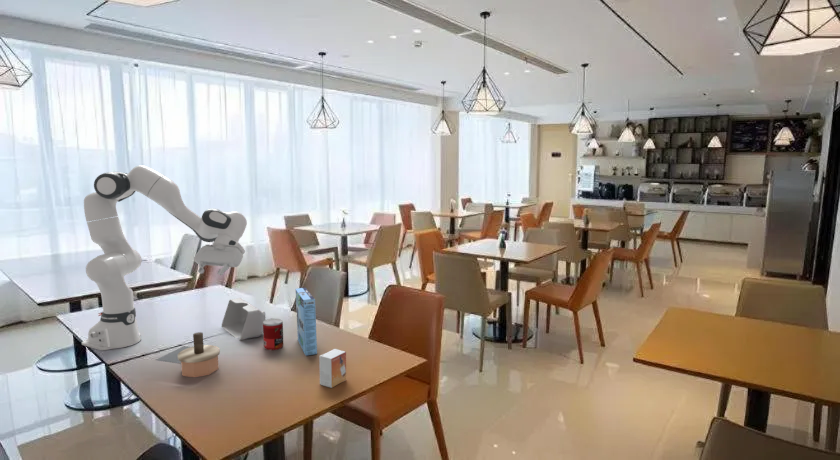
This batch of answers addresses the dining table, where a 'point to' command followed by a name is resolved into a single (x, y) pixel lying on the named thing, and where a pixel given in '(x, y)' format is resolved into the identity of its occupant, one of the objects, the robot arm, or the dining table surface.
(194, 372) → the bowl
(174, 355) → the mat
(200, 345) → the lid
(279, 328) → the canned food
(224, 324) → the grey open bin
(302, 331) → the blue cereal box
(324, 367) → the small box
